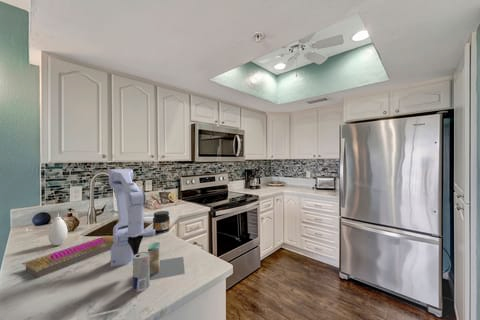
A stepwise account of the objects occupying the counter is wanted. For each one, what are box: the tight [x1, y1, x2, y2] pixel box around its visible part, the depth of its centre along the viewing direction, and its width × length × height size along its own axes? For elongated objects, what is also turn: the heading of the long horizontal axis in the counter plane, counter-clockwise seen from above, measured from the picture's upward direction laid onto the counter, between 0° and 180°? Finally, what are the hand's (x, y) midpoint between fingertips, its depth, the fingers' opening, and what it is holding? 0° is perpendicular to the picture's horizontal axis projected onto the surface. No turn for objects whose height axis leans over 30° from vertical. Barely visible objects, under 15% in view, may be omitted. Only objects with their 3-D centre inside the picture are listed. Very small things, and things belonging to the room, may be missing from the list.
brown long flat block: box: [21, 235, 114, 278], centre depth 96 cm, size 35×14×6 cm, turn 154°
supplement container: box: [152, 210, 171, 234], centre depth 131 cm, size 10×10×12 cm
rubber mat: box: [150, 256, 186, 281], centre depth 83 cm, size 18×15×1 cm
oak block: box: [147, 241, 161, 274], centre depth 82 cm, size 4×6×10 cm, turn 19°
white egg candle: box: [47, 212, 69, 246], centre depth 109 cm, size 8×8×18 cm
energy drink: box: [132, 251, 151, 293], centre depth 70 cm, size 5×5×12 cm
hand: (135, 254), depth 80 cm, fingers closed
